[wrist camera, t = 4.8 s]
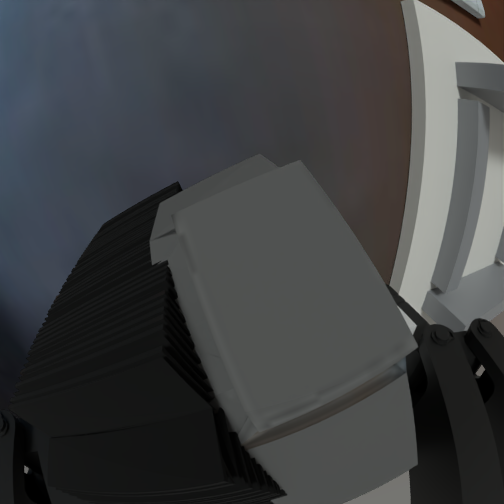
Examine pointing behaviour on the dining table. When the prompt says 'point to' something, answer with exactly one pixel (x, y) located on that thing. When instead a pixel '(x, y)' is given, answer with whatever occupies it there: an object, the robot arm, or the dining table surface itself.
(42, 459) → the robot arm
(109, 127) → the dining table surface
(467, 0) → the hard drive
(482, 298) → the housing
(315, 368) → the cpu cooler
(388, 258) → the dining table surface
